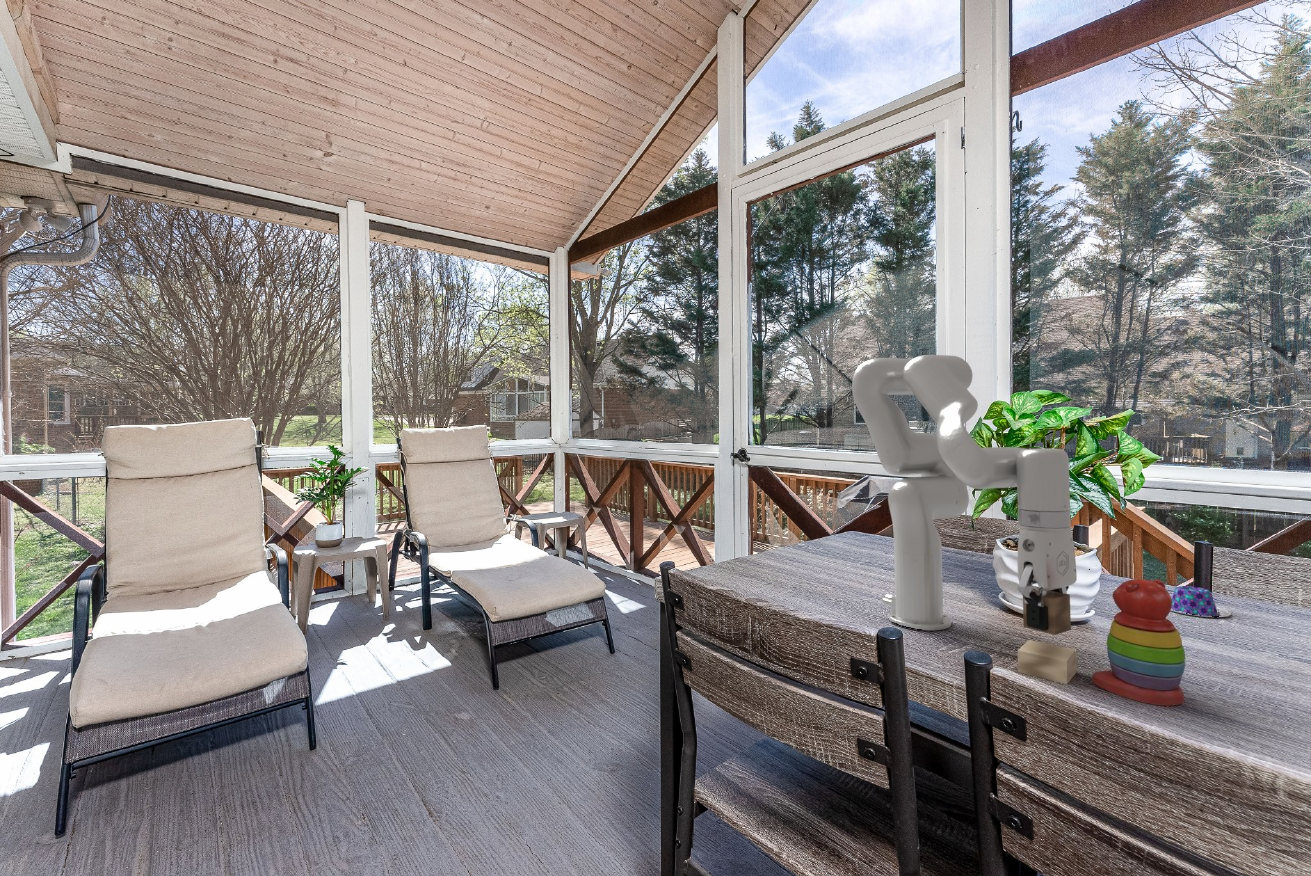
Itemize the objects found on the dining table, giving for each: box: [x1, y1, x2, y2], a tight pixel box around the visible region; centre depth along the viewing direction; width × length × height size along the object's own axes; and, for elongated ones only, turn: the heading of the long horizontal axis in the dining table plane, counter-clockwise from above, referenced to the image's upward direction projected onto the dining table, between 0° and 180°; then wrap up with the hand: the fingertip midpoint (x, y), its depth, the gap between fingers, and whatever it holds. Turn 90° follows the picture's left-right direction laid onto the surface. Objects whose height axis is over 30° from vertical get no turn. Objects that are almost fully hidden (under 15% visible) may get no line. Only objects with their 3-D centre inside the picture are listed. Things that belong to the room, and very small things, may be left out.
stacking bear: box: [1091, 578, 1186, 707], centre depth 90 cm, size 11×10×18 cm
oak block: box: [1017, 639, 1078, 685], centre depth 99 cm, size 7×7×4 cm
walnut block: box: [1022, 590, 1072, 636], centre depth 99 cm, size 5×5×6 cm
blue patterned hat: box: [1170, 585, 1232, 618], centre depth 130 cm, size 12×12×5 cm
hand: (1046, 624), depth 99 cm, fingers closed on walnut block, 5 cm apart
